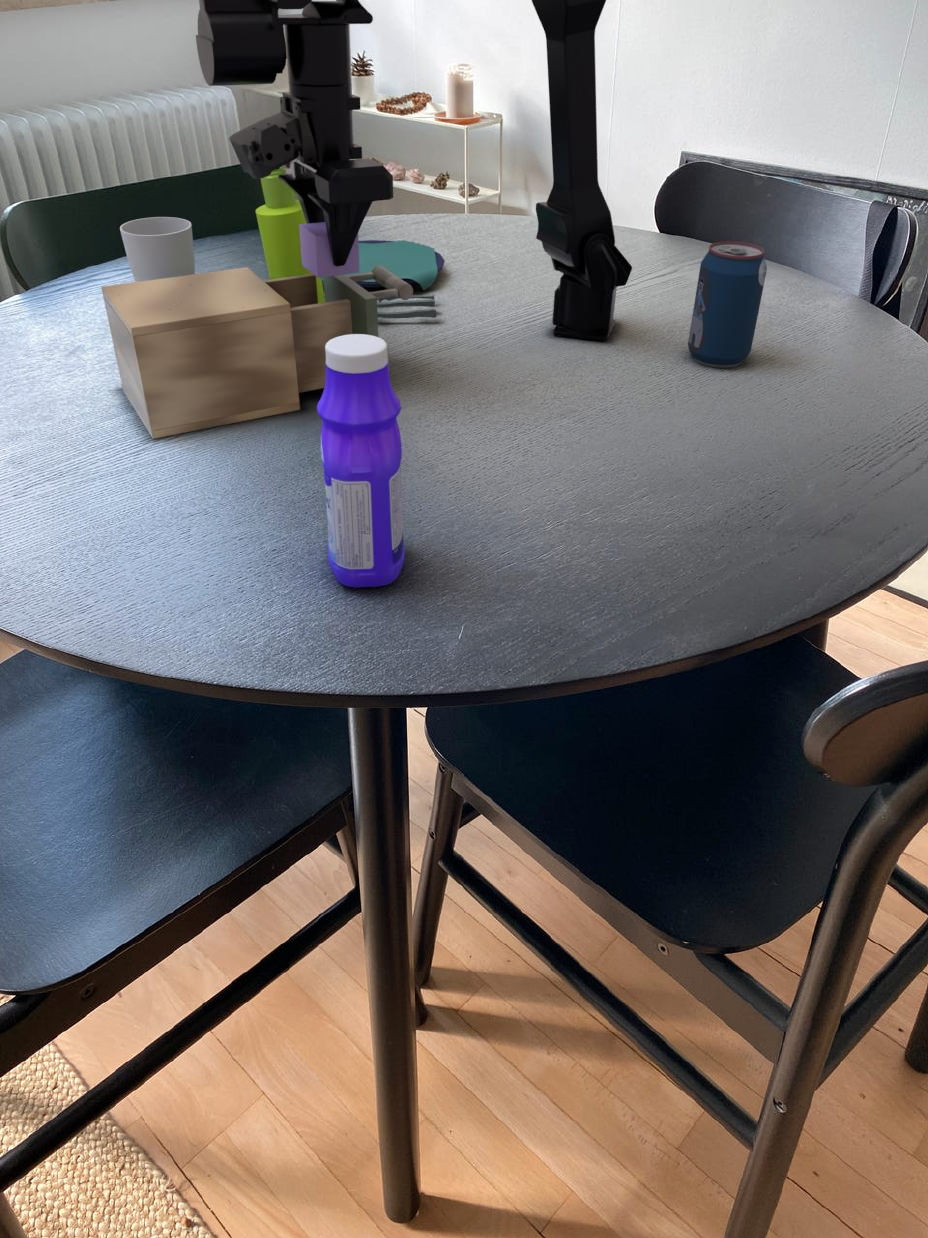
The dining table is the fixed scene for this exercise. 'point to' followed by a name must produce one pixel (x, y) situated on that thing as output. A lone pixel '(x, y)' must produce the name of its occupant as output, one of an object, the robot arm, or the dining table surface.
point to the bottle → (361, 462)
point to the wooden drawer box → (203, 350)
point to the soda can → (727, 303)
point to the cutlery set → (401, 271)
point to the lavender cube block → (324, 252)
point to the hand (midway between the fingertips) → (330, 258)
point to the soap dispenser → (282, 230)
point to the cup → (159, 247)
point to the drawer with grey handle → (331, 315)
